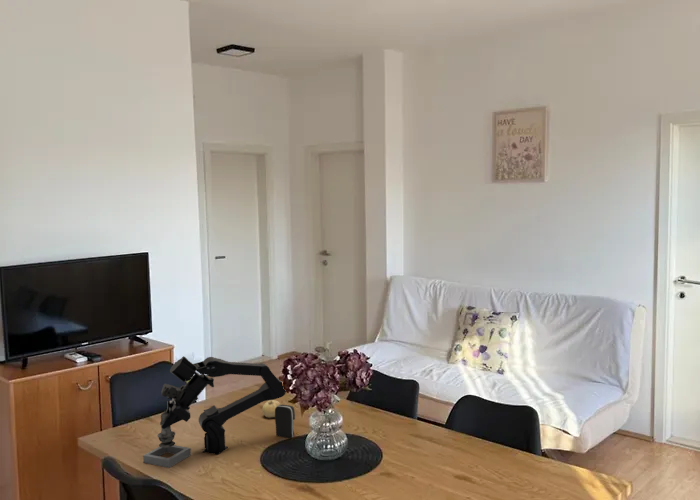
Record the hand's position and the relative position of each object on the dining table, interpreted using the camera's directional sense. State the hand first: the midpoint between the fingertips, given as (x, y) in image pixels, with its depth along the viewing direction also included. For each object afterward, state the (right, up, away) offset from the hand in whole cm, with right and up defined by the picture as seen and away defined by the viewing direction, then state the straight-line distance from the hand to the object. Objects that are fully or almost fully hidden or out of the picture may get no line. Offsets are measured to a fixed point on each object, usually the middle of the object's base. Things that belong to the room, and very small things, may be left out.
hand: (161, 426), depth 220 cm
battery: (+40, -9, +19) cm, 45 cm away
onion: (+33, -7, +41) cm, 53 cm away
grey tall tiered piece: (+2, -7, +1) cm, 7 cm away
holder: (+2, -12, +2) cm, 12 cm away
